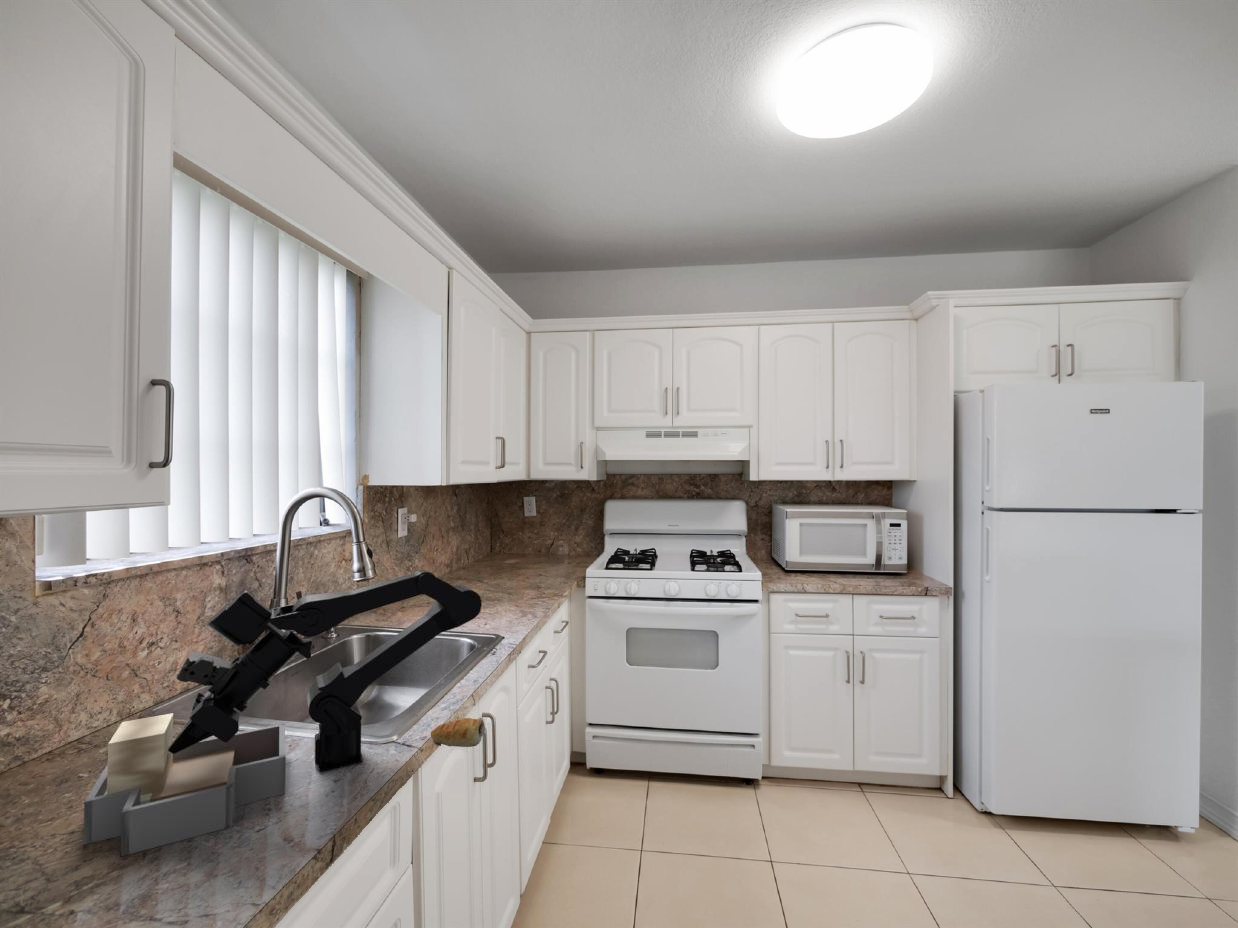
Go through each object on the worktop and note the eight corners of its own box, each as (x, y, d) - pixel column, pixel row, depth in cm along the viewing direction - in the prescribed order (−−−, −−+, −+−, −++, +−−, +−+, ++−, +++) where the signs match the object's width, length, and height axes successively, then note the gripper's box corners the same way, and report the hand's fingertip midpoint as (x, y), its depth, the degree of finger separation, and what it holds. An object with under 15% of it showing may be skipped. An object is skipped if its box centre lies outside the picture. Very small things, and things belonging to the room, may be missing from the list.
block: (172, 765, 86) (173, 712, 86) (163, 790, 79) (164, 733, 79) (121, 776, 82) (122, 721, 83) (106, 802, 76) (108, 743, 76)
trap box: (284, 755, 96) (284, 723, 96) (285, 812, 79) (285, 772, 79) (110, 794, 84) (111, 757, 84) (69, 870, 68) (70, 824, 68)
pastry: (425, 749, 98) (425, 727, 98) (438, 732, 105) (438, 711, 105) (478, 748, 98) (478, 726, 98) (487, 731, 105) (487, 711, 105)
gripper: (223, 619, 94) (136, 699, 88) (211, 648, 78) (103, 747, 72) (277, 659, 98) (197, 737, 91) (276, 694, 82) (179, 792, 76)
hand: (171, 751), depth 82 cm, fingers closed
